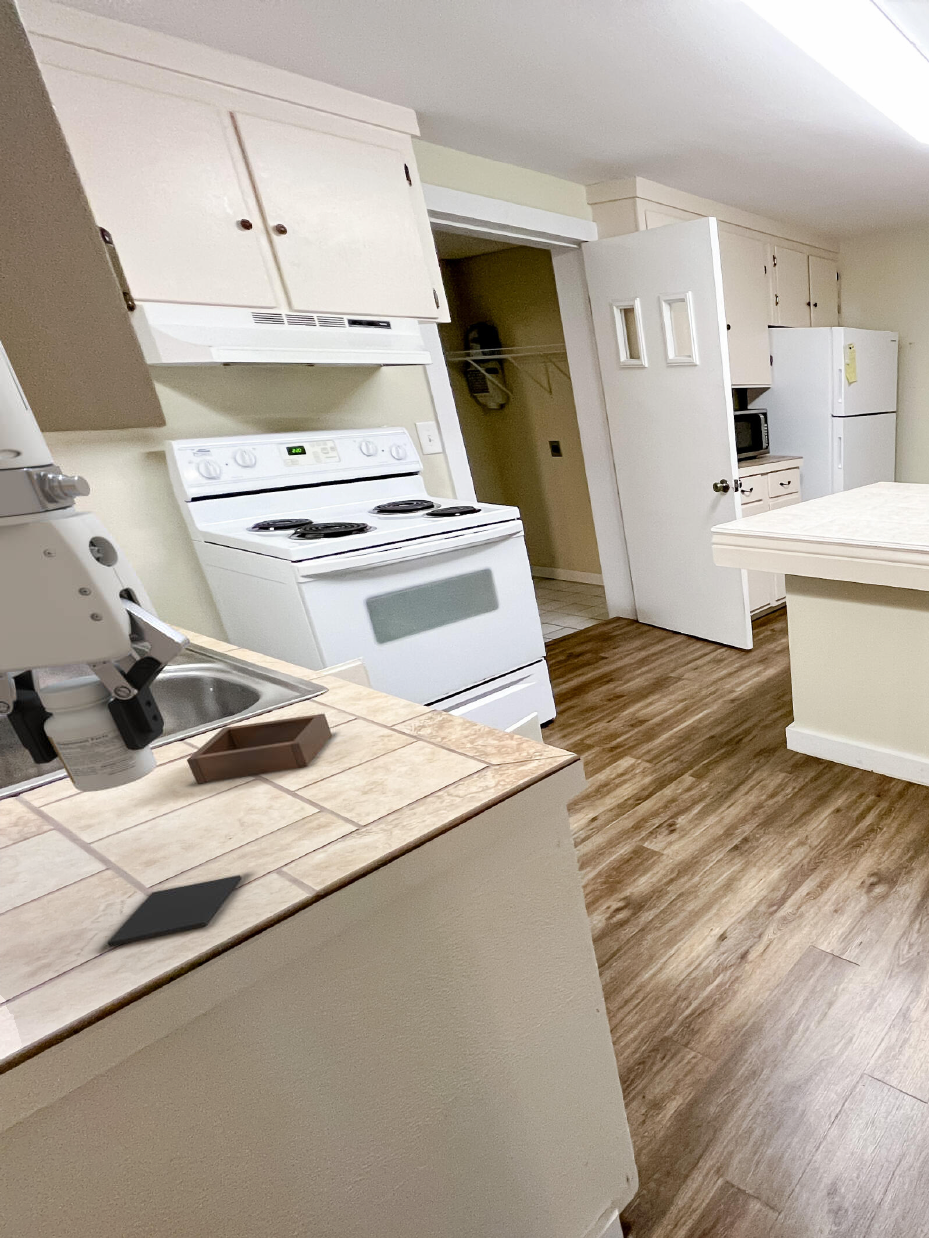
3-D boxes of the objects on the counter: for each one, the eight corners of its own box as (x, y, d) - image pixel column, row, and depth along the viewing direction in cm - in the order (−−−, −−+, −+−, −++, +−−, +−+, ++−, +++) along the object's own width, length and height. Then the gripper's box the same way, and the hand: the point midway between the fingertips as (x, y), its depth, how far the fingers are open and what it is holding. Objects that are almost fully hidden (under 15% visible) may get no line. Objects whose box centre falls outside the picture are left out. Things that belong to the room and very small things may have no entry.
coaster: (109, 946, 52) (106, 942, 52) (154, 895, 58) (152, 892, 57) (206, 926, 54) (204, 922, 54) (241, 878, 59) (240, 874, 59)
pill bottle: (101, 768, 53) (56, 676, 50) (171, 758, 54) (131, 668, 51) (58, 798, 49) (7, 700, 46) (135, 787, 50) (89, 691, 47)
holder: (197, 784, 74) (186, 759, 73) (232, 749, 81) (223, 727, 80) (307, 766, 77) (298, 742, 76) (332, 735, 84) (324, 713, 83)
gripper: (178, 483, 50) (264, 708, 57) (-147, 500, 45) (-10, 746, 51) (113, 498, 43) (219, 750, 50) (-276, 519, 38) (-100, 798, 45)
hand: (102, 745), depth 51 cm, fingers closed on pill bottle, 4 cm apart
